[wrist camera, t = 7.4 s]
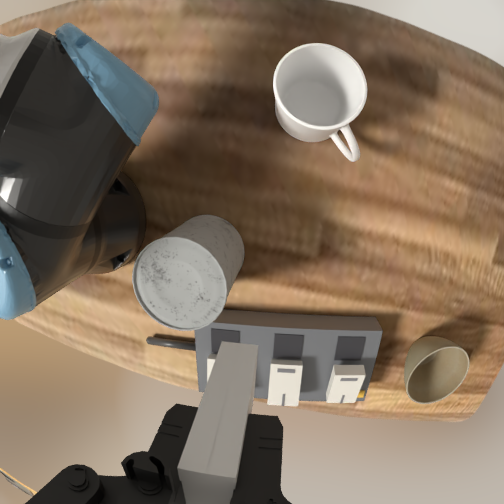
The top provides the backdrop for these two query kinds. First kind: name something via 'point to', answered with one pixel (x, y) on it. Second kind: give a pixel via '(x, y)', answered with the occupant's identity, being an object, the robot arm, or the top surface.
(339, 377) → the rocker
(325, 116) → the mug
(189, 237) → the grey concrete cylinder
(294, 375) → the block
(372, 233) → the top surface
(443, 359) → the flower pot
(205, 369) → the power strip
